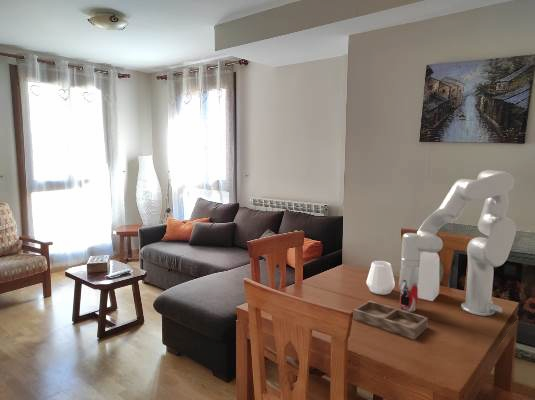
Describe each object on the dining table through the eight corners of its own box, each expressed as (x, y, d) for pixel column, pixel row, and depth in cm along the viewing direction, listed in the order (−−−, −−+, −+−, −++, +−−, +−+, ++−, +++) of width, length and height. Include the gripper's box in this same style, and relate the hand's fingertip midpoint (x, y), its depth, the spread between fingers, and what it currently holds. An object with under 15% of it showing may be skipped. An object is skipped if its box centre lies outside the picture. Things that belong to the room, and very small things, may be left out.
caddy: (427, 327, 147) (428, 317, 147) (414, 339, 138) (414, 329, 137) (368, 309, 164) (369, 300, 164) (353, 318, 155) (353, 309, 154)
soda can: (418, 313, 160) (419, 286, 158) (400, 312, 161) (402, 284, 160) (415, 306, 167) (416, 280, 165) (398, 305, 168) (399, 279, 167)
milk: (432, 301, 173) (435, 245, 170) (406, 295, 180) (409, 241, 177) (439, 293, 183) (442, 240, 179) (414, 288, 189) (417, 237, 186)
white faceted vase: (390, 298, 176) (392, 269, 175) (362, 292, 183) (363, 264, 182) (397, 289, 188) (398, 262, 186) (370, 284, 195) (371, 258, 193)
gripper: (410, 256, 170) (408, 294, 172) (393, 264, 158) (391, 305, 160) (427, 259, 165) (424, 299, 167) (410, 268, 152) (408, 311, 155)
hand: (408, 302), depth 164 cm, fingers closed on soda can, 7 cm apart
